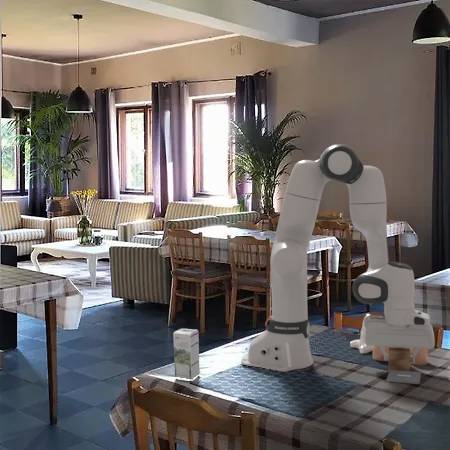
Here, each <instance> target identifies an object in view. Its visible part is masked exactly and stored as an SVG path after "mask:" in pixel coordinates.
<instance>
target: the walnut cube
mask: <svg viewBox="0 0 450 450" xmlns="http://www.w3.org/2000/svg"><path fill="white" fill-rule="evenodd" d="M387 362H388V364H387V365H388V367H387V368H388V369H387V370H388V371H389V370H398V371H411V364H410V348H403V347H389V350H388V361H387Z"/></svg>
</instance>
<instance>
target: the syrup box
mask: <svg viewBox="0 0 450 450" xmlns="http://www.w3.org/2000/svg"><path fill="white" fill-rule="evenodd" d="M172 334H173V335H172V336H173V339H172V340H173V359H174V360H173V361H174V364H173V365H174V378H175V377H180V378H186V379H193V378H194V377H196V376H197V375H199V374H200V375H201V372H200V371H201V370H200V369H201V368H200V353H199V352H200V347H199V346H200V345H199V343H200V341H199V340H200V339H199V338H200V337H199V330H198V329H191V328H178V330H175V331H174V332H173V333H172Z"/></svg>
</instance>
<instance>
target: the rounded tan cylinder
mask: <svg viewBox="0 0 450 450" xmlns="http://www.w3.org/2000/svg"><path fill="white" fill-rule="evenodd" d="M372 349H373V351H372V359H373V360H375V361H378V362H379V361H380V362H386V361H385V360H384V355H383V353H382V351H381V350H380V346H372ZM388 350H389V347H387V346H386V348H385V351H386V353H387V354H388Z"/></svg>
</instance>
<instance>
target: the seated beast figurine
mask: <svg viewBox="0 0 450 450" xmlns="http://www.w3.org/2000/svg"><path fill="white" fill-rule="evenodd" d="M369 315H372V314H370V313H366V314H365V316H364V318H363V321H362V327H361V331H360V338H359V339H353V340H351V341H350V342H349V343H350V344H349V347H350V348H352V349H355V348H356V349H358V350H359V353H360V354H369V353H370V352H373V349H372V346H371V345H367V344H366V342H365V336H366V328H365V325H364V320H365V318H366V317H367V316H369ZM368 318H369V317H368Z"/></svg>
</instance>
